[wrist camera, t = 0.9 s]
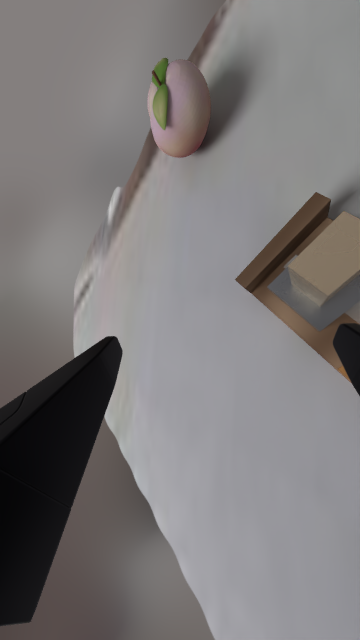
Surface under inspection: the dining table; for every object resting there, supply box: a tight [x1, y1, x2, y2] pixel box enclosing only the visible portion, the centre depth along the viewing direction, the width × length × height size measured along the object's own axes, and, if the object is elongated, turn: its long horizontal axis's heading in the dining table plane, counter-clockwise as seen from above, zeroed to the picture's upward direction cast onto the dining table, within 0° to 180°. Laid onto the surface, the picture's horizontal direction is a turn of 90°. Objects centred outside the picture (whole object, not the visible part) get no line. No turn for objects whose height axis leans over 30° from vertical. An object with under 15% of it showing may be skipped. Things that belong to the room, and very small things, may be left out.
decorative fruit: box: [147, 58, 211, 158], centre depth 25 cm, size 9×8×10 cm
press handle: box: [267, 211, 360, 331], centre depth 15 cm, size 6×7×8 cm
